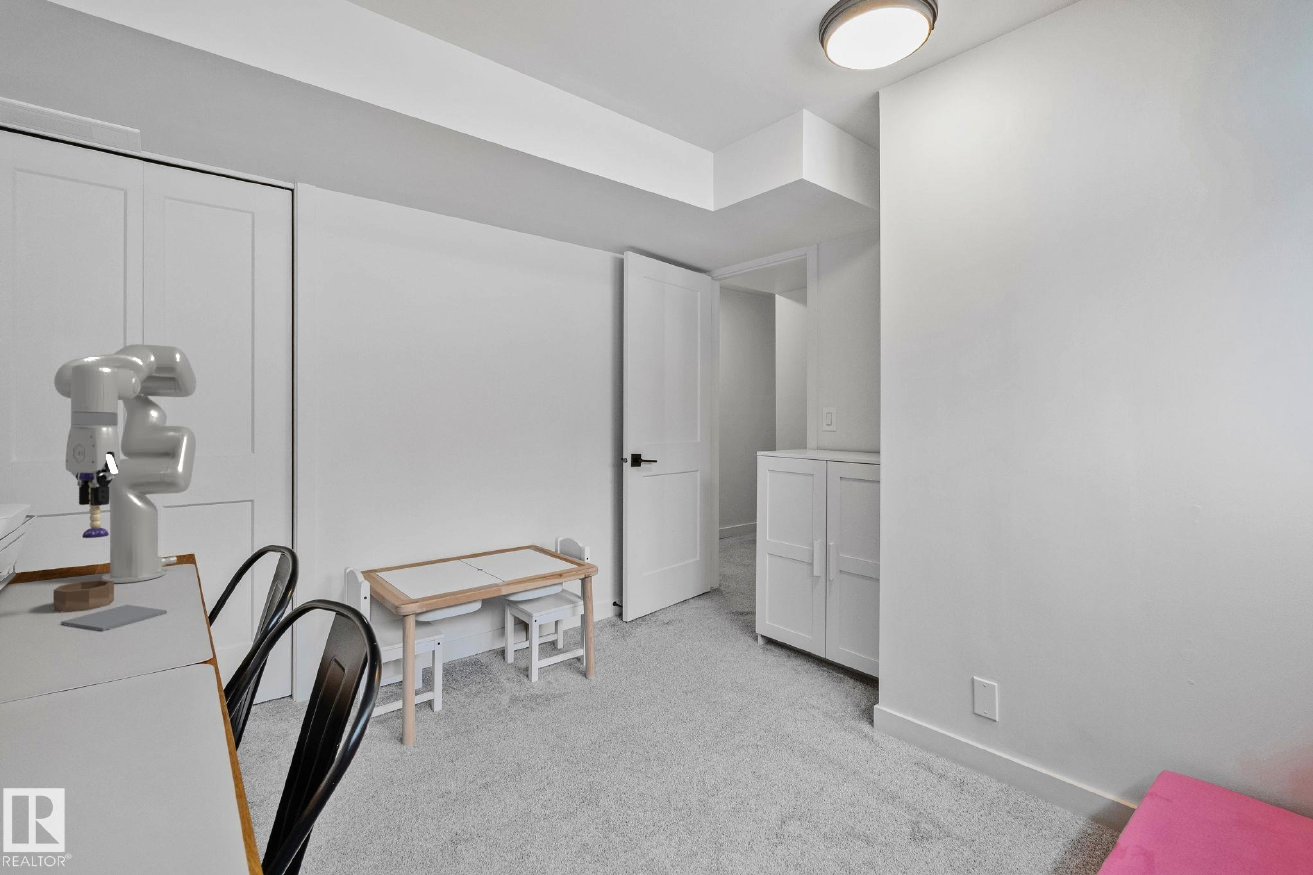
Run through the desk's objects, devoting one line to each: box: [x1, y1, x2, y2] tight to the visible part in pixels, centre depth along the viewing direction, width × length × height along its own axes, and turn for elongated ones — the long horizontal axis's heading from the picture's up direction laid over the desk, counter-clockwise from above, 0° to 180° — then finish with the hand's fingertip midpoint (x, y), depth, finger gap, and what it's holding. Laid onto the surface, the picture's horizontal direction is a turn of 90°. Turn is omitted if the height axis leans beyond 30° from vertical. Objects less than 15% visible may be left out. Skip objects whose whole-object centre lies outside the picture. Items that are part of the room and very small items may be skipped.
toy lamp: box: [79, 469, 110, 539], centre depth 131 cm, size 5×5×17 cm
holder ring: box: [53, 579, 115, 613], centre depth 135 cm, size 9×9×4 cm
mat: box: [60, 604, 168, 632], centre depth 127 cm, size 12×12×1 cm
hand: (94, 503), depth 131 cm, fingers closed on toy lamp, 2 cm apart
